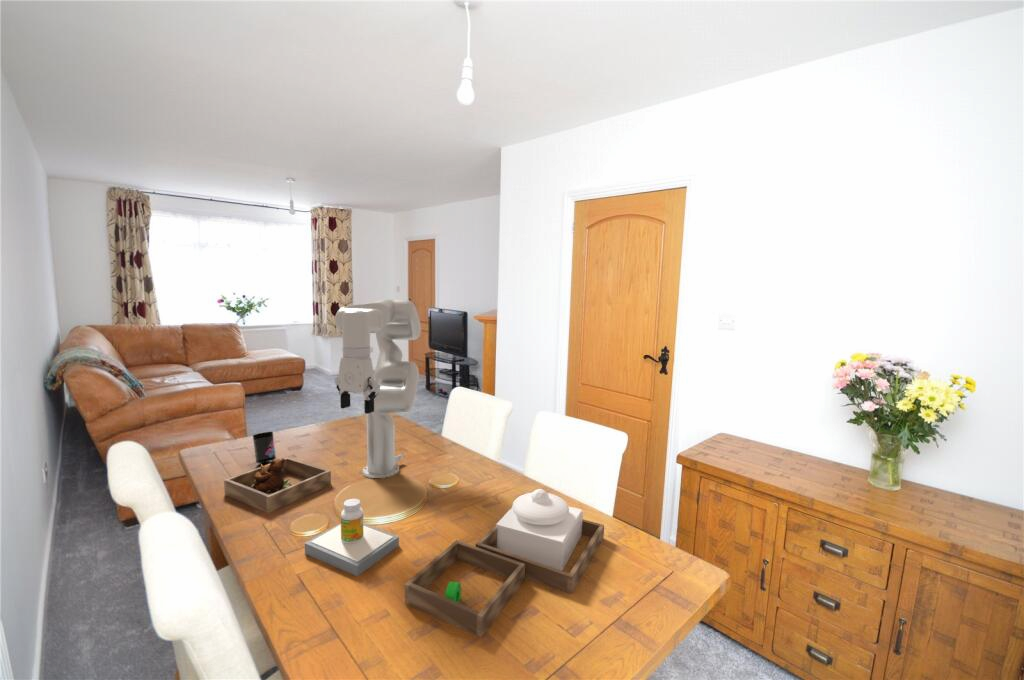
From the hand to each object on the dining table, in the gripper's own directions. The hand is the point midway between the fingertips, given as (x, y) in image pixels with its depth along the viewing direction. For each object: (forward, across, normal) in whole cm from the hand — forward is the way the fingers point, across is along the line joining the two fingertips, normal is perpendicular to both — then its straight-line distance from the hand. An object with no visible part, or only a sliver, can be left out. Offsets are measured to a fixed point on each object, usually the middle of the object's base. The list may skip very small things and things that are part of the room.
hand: (357, 409), depth 132 cm
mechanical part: (+33, +49, -25) cm, 64 cm away
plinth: (+30, +16, -17) cm, 38 cm away
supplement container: (+31, -54, +6) cm, 63 cm away
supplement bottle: (+27, +16, -17) cm, 36 cm away
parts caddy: (+30, +50, -16) cm, 61 cm away
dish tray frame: (+30, +58, +7) cm, 66 cm away
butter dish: (+31, +56, +9) cm, 65 cm away
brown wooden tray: (+30, -30, -5) cm, 43 cm away
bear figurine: (+31, -31, -8) cm, 45 cm away
